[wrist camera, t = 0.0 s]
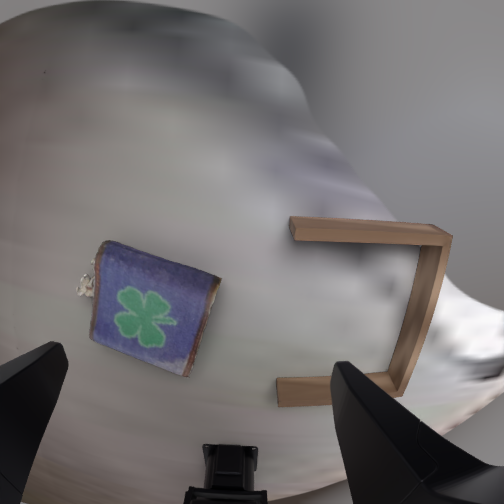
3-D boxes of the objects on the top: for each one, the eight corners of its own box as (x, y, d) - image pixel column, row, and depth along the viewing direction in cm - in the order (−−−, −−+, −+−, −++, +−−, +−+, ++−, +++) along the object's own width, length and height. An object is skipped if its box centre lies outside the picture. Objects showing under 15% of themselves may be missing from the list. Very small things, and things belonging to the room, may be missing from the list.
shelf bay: (392, 376, 27) (402, 396, 24) (276, 383, 27) (278, 407, 24) (432, 224, 22) (452, 235, 19) (290, 216, 22) (295, 227, 19)
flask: (187, 384, 23) (69, 335, 22) (194, 362, 25) (85, 319, 25) (219, 286, 20) (76, 233, 19) (225, 269, 23) (96, 223, 22)
